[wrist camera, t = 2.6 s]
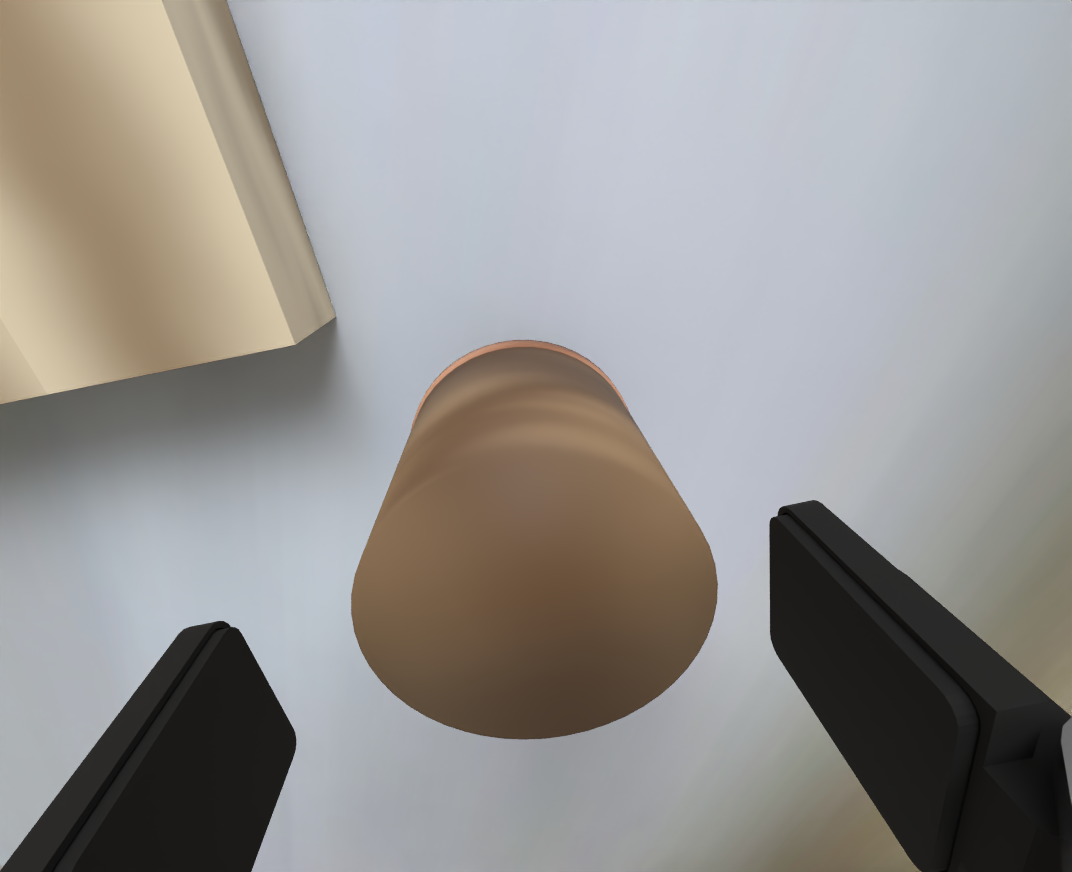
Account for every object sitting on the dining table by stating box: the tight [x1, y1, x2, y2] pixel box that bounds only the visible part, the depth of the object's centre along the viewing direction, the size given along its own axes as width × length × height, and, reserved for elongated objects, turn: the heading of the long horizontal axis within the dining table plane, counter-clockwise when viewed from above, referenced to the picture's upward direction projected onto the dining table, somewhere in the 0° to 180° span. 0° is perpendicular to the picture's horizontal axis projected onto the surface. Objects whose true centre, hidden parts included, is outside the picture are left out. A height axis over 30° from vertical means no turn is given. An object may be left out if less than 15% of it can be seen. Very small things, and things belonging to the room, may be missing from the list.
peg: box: [351, 340, 718, 739], centre depth 13 cm, size 6×6×10 cm
